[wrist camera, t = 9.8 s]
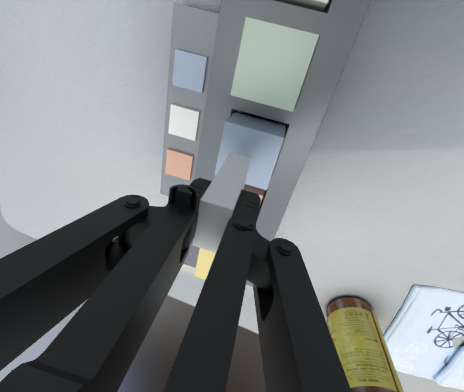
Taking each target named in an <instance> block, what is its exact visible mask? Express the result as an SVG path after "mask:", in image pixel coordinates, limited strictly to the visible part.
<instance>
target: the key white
mask: <svg viewBox="0 0 464 392" xmlns="http://www.w3.org/2000/svg"><path fill="white" fill-rule="evenodd" d="M274 1H278V2H282V3H286V4H291V5H295V6H299V7H303V8H307V9H312V10H316V11H320V12H322V11H323V10H324V8H325V7H326V5H327V3H328V0H274Z"/></svg>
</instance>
